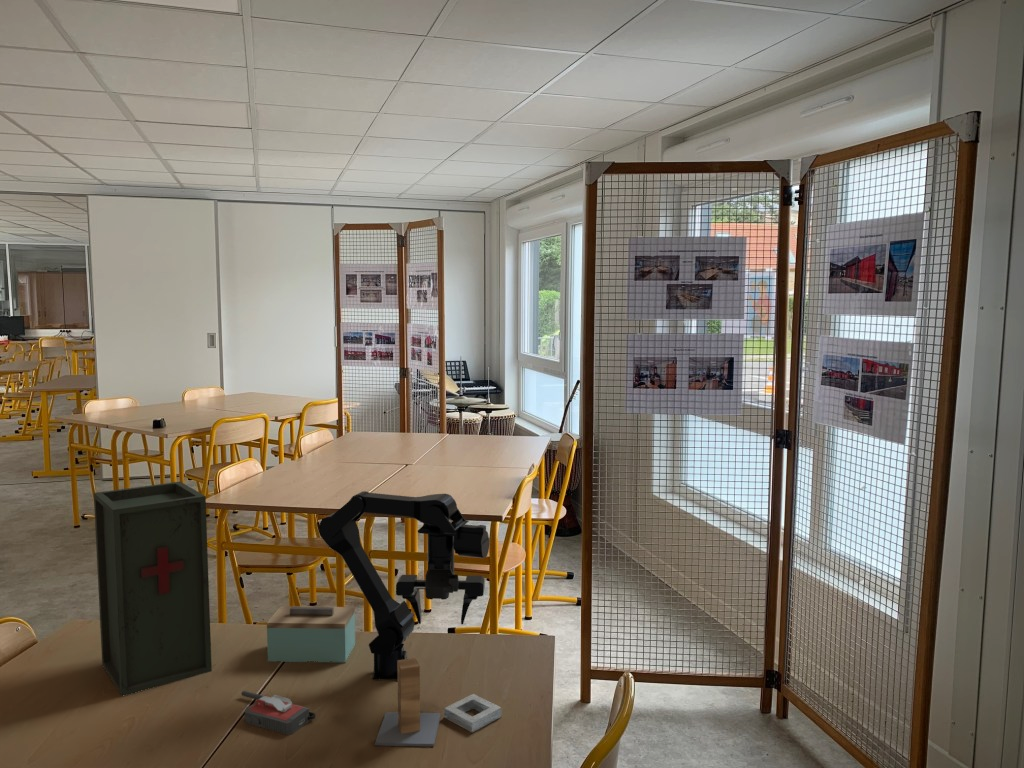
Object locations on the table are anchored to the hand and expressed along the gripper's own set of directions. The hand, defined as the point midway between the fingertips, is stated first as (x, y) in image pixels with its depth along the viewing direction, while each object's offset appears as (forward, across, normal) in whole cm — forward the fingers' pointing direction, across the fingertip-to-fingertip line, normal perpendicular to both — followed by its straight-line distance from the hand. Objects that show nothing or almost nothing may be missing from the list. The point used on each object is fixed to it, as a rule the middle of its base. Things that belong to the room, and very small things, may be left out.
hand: (441, 623), depth 168 cm
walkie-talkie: (+14, -33, -15) cm, 39 cm away
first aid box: (+13, -65, +4) cm, 66 cm away
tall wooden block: (+12, -4, -20) cm, 24 cm away
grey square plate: (+13, -4, -20) cm, 24 cm away
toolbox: (+13, -32, +13) cm, 37 cm away
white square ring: (+13, +8, -15) cm, 21 cm away
